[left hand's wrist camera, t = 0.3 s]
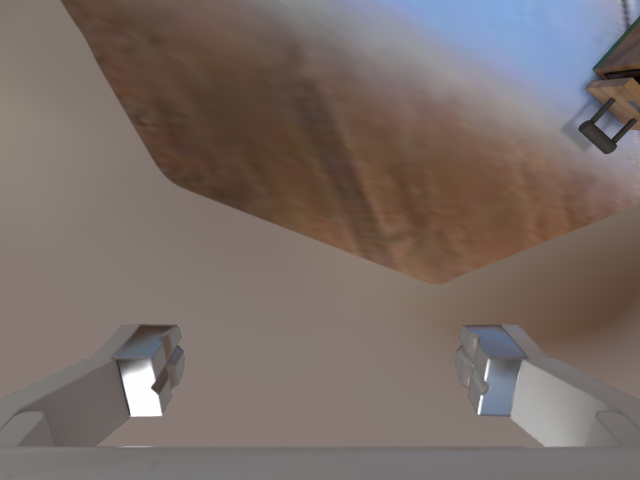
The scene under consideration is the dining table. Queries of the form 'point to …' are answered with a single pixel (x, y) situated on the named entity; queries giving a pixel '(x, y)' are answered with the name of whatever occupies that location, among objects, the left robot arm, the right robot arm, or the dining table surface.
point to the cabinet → (622, 53)
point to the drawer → (614, 107)
